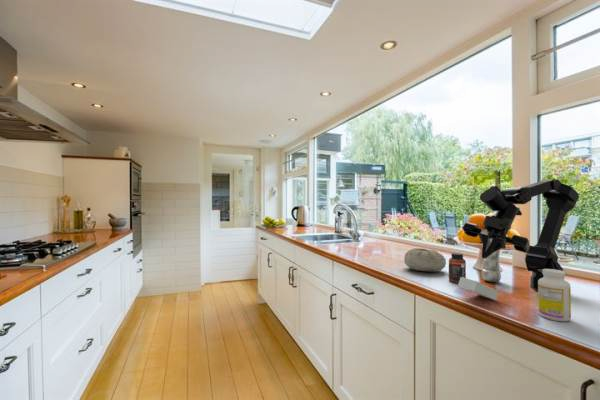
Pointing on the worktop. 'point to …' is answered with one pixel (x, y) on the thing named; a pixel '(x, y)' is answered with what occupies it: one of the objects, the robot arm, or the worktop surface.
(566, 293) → the supplement bottle
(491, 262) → the stone figurine
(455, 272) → the supplement bottle
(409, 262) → the smooth grey pebble
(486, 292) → the white rectangular block
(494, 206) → the robot arm
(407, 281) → the worktop surface
